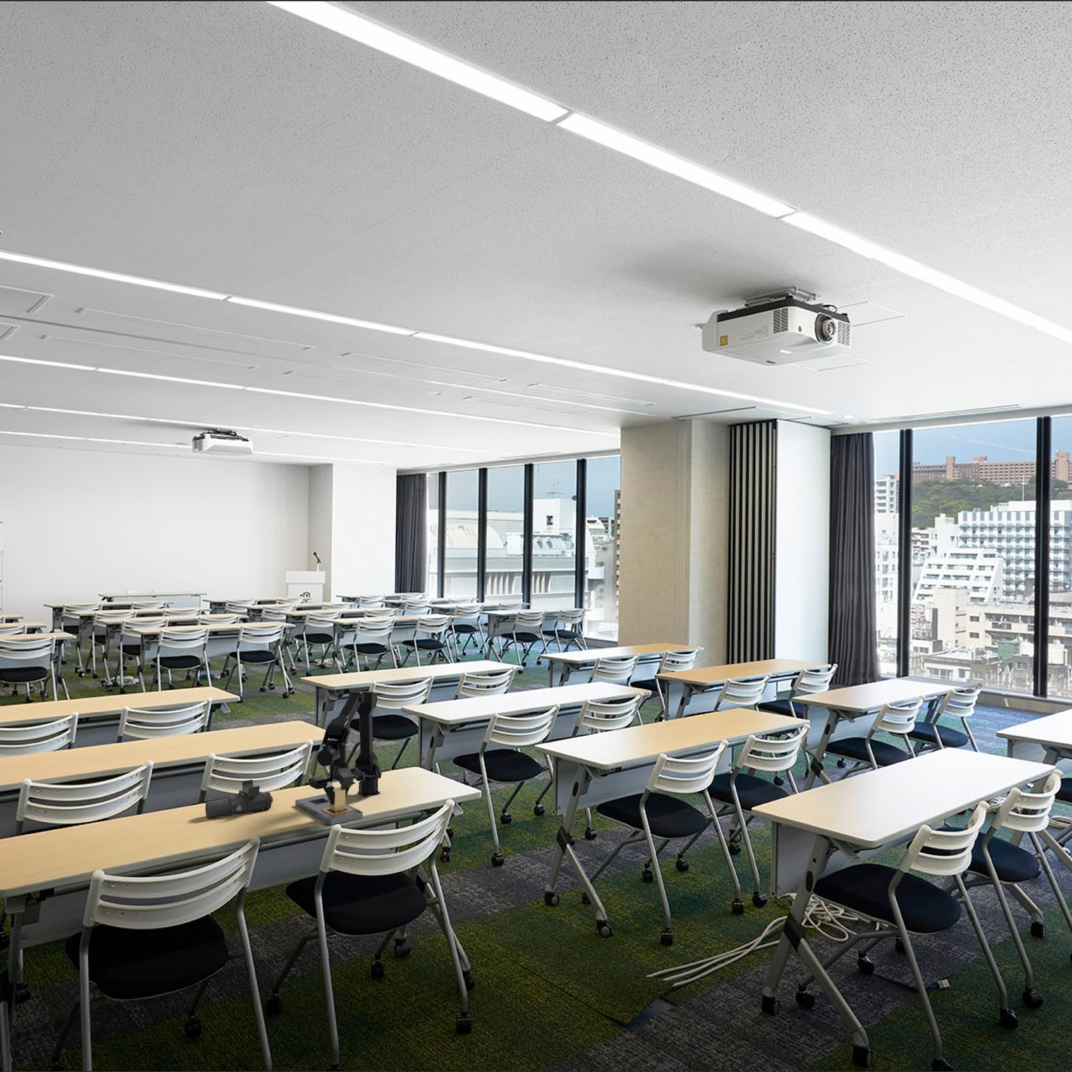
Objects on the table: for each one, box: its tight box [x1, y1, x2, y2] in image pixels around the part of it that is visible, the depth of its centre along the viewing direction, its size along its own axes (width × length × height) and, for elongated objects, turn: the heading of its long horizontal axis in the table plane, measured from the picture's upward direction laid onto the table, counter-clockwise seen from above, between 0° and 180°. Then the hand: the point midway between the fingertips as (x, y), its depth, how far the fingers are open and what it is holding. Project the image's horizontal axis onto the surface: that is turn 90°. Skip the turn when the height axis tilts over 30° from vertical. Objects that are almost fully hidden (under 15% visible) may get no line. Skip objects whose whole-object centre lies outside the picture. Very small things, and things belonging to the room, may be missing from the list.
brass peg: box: [330, 786, 346, 814], centre depth 297 cm, size 4×4×8 cm
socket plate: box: [294, 793, 364, 826], centre depth 302 cm, size 12×28×2 cm, turn 41°
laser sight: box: [204, 779, 274, 819], centre depth 301 cm, size 10×22×10 cm, turn 123°
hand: (337, 803), depth 297 cm, fingers closed on brass peg, 4 cm apart
